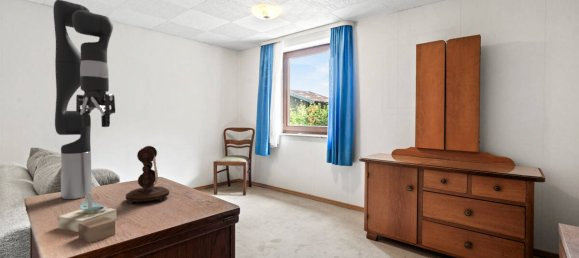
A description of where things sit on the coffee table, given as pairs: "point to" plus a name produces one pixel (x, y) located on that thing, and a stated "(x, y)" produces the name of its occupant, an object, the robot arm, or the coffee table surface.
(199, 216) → the coffee table surface
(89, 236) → the walnut block
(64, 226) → the ash block
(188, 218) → the coffee table surface
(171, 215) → the coffee table surface
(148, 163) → the dark brown sculpture
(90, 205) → the pacifier
